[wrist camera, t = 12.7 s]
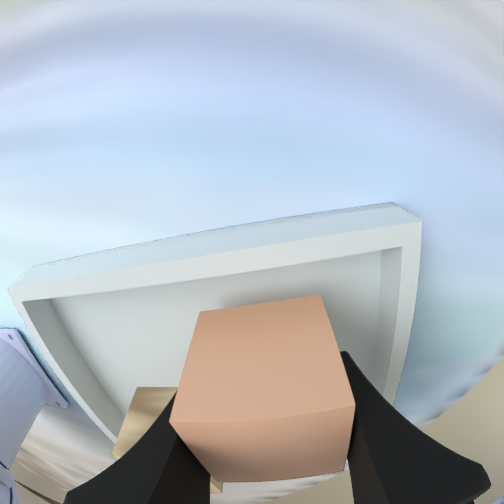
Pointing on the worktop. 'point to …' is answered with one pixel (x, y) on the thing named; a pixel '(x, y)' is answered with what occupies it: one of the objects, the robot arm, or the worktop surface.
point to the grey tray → (221, 299)
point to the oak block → (147, 421)
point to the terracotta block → (265, 393)
